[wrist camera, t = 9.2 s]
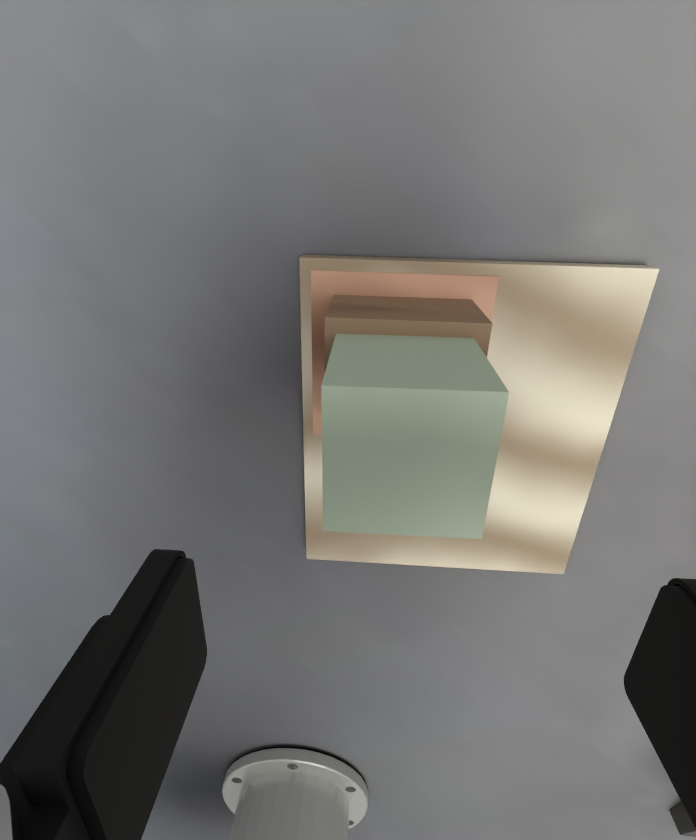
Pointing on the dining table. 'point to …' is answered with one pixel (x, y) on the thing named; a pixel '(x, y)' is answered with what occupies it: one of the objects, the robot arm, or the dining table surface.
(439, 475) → the sage block
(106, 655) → the robot arm
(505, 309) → the cream wavy board
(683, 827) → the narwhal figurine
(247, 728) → the dining table surface
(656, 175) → the dining table surface
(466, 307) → the walnut base block
